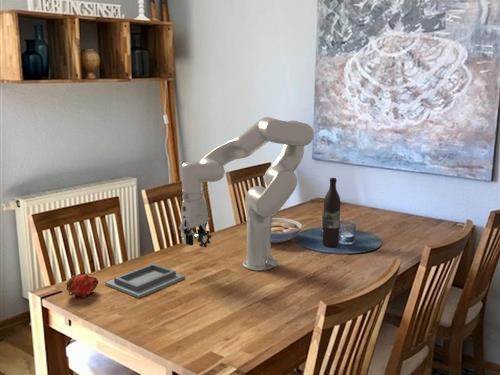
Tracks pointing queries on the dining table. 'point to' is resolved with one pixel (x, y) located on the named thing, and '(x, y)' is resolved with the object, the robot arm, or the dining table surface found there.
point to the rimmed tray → (145, 280)
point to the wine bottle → (331, 216)
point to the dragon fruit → (81, 285)
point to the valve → (198, 237)
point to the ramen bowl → (284, 229)
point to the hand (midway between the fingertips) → (195, 241)
